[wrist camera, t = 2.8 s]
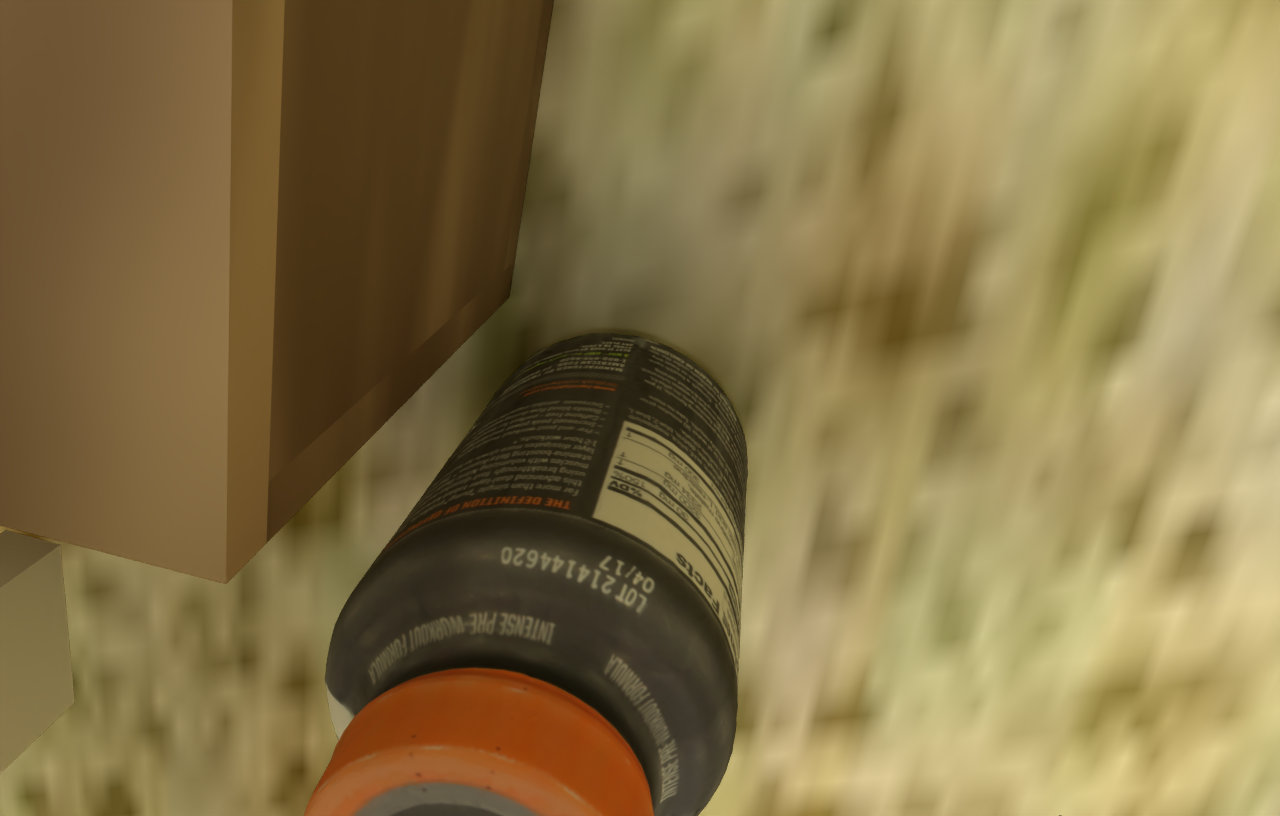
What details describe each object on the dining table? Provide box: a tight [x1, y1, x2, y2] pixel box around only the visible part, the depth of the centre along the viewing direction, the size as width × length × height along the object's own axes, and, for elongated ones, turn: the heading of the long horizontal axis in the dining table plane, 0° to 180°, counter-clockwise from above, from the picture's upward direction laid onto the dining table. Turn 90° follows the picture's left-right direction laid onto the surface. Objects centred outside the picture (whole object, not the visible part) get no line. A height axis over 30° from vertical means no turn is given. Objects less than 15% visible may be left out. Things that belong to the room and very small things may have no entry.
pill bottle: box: [304, 334, 748, 816], centre depth 15 cm, size 6×6×11 cm
